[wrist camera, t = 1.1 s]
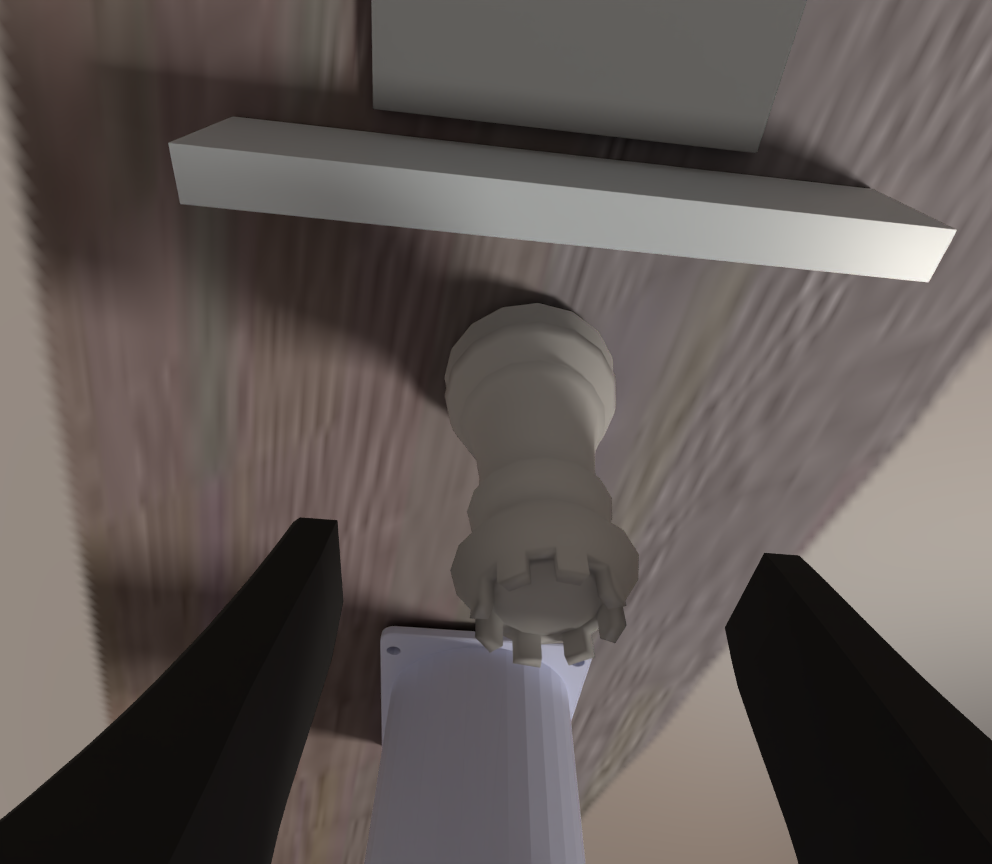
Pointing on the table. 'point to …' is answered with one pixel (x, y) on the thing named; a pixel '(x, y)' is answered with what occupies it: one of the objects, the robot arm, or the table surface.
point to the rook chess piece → (538, 484)
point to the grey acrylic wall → (553, 198)
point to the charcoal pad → (589, 65)
